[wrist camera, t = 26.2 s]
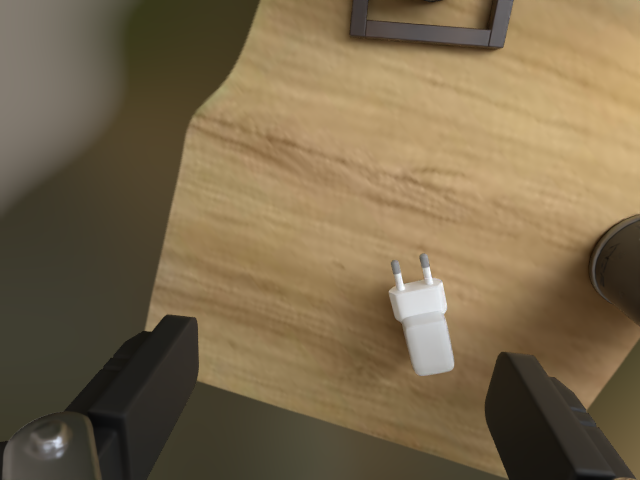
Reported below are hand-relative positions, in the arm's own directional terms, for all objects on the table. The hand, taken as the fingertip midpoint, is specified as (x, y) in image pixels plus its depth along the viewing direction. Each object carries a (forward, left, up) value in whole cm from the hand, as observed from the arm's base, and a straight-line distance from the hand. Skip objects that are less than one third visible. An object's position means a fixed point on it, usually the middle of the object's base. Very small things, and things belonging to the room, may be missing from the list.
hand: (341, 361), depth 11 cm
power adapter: (-8, +12, -28) cm, 32 cm away
